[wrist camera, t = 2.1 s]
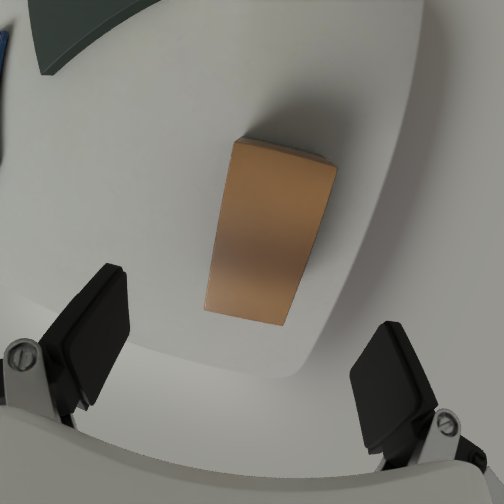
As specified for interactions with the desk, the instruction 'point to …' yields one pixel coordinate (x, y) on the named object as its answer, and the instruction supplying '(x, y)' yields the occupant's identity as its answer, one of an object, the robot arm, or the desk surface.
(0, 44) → the smartphone
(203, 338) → the desk surface
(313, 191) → the eraser
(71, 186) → the desk surface
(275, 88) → the desk surface
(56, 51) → the chalkboard
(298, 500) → the robot arm
